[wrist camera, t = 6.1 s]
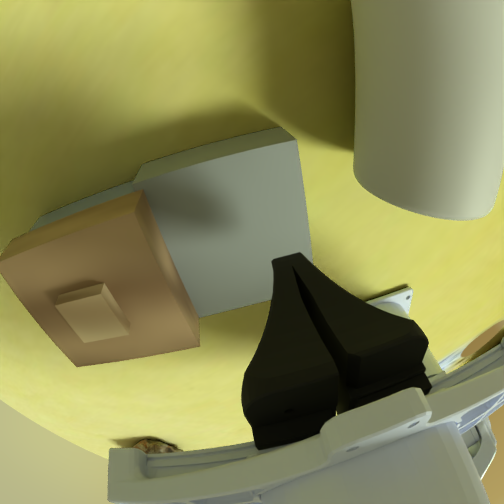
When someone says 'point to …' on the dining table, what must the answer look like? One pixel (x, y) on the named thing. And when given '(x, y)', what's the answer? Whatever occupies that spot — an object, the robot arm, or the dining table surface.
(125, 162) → the dining table surface
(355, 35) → the mug
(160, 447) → the rock
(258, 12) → the dining table surface
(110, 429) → the dining table surface
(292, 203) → the stand
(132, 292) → the lid
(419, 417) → the robot arm
